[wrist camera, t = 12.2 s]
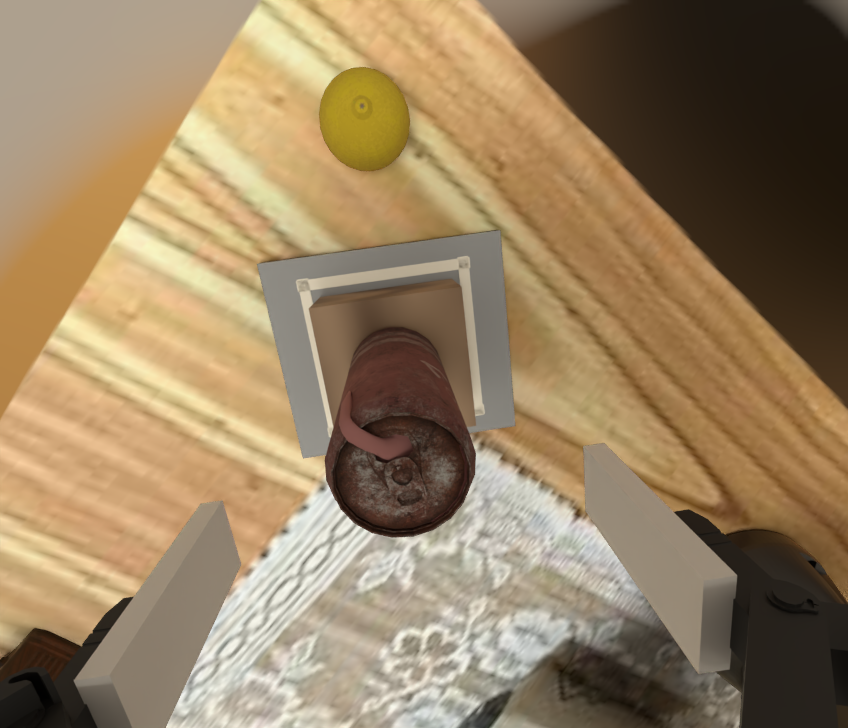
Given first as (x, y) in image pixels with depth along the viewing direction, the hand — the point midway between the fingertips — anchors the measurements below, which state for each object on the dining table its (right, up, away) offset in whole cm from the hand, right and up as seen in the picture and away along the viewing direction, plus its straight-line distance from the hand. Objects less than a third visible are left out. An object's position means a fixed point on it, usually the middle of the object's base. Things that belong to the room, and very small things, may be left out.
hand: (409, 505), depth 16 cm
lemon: (-3, +21, +16) cm, 27 cm away
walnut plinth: (-2, +6, +20) cm, 21 cm away
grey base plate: (-2, +6, +20) cm, 21 cm away
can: (-1, +5, +14) cm, 15 cm away
